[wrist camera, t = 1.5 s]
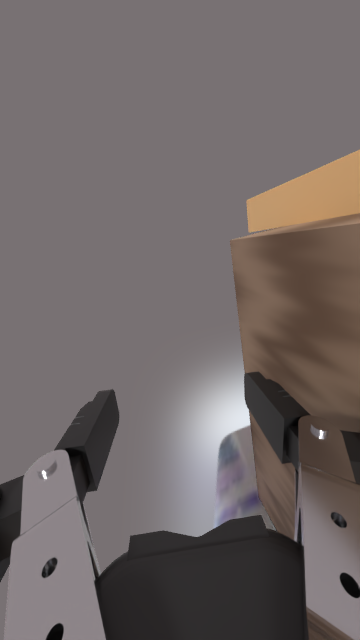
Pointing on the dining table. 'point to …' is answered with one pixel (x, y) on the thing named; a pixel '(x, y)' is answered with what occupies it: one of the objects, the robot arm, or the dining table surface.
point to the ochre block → (309, 196)
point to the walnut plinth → (300, 333)
